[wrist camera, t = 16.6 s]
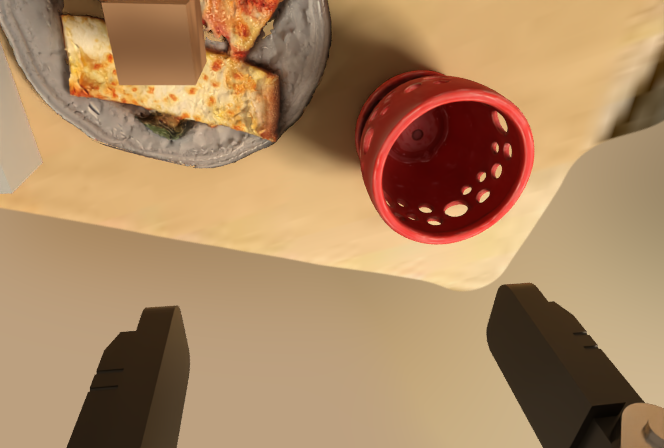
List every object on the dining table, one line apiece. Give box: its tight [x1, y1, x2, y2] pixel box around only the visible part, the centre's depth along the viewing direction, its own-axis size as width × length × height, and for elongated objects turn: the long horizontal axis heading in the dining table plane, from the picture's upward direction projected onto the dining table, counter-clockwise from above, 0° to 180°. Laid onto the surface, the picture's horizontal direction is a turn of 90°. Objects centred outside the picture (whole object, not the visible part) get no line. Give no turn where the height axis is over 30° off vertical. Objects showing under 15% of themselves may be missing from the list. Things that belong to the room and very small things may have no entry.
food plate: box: [0, 0, 332, 168], centre depth 36 cm, size 25×23×4 cm
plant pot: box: [355, 70, 534, 244], centre depth 39 cm, size 13×13×12 cm
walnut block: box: [101, 0, 207, 85], centre depth 32 cm, size 5×5×7 cm
